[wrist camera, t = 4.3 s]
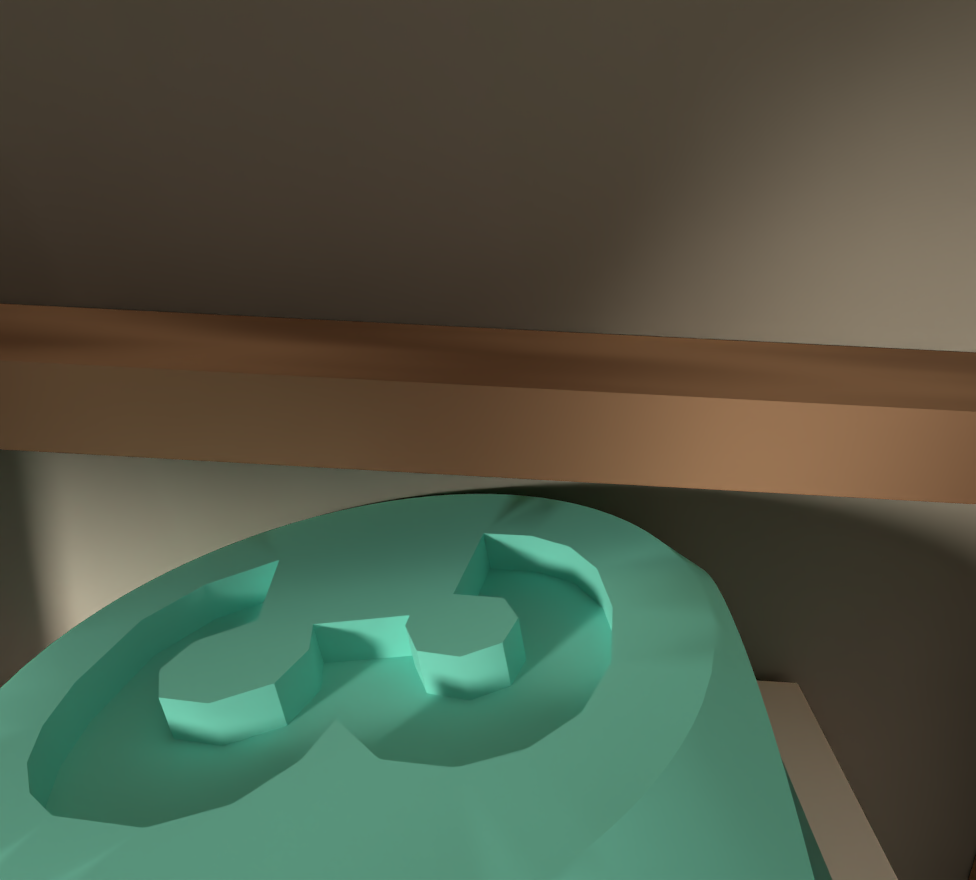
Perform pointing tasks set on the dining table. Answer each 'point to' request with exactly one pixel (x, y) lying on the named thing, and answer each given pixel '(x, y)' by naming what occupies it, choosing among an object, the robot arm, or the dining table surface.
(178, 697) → the decorative dice
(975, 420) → the rectangular frame
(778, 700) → the robot arm
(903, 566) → the dining table surface
